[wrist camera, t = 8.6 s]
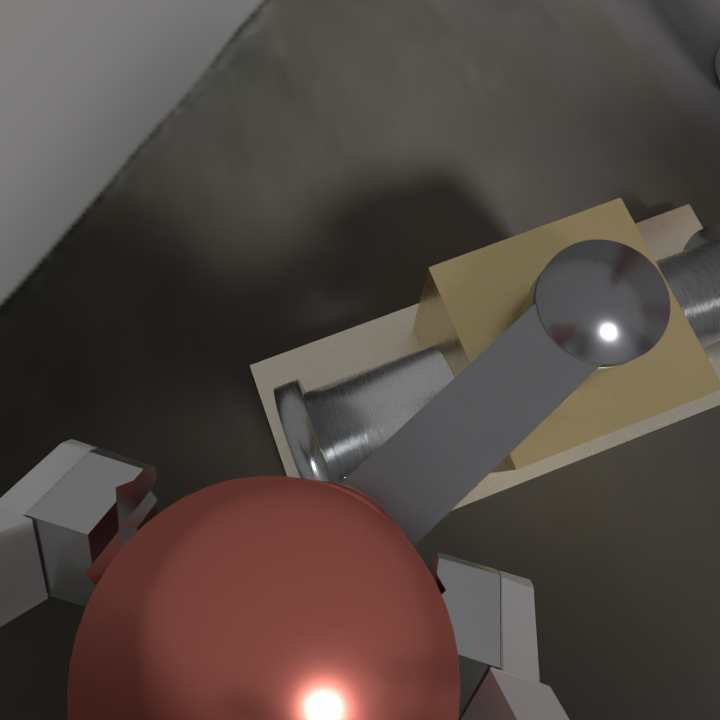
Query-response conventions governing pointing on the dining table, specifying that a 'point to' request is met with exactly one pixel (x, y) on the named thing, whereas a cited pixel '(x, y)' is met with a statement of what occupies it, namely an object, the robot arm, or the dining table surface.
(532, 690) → the robot arm
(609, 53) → the dining table surface
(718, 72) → the lotion bottle
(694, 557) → the dining table surface
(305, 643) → the lever
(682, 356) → the pipe valve
